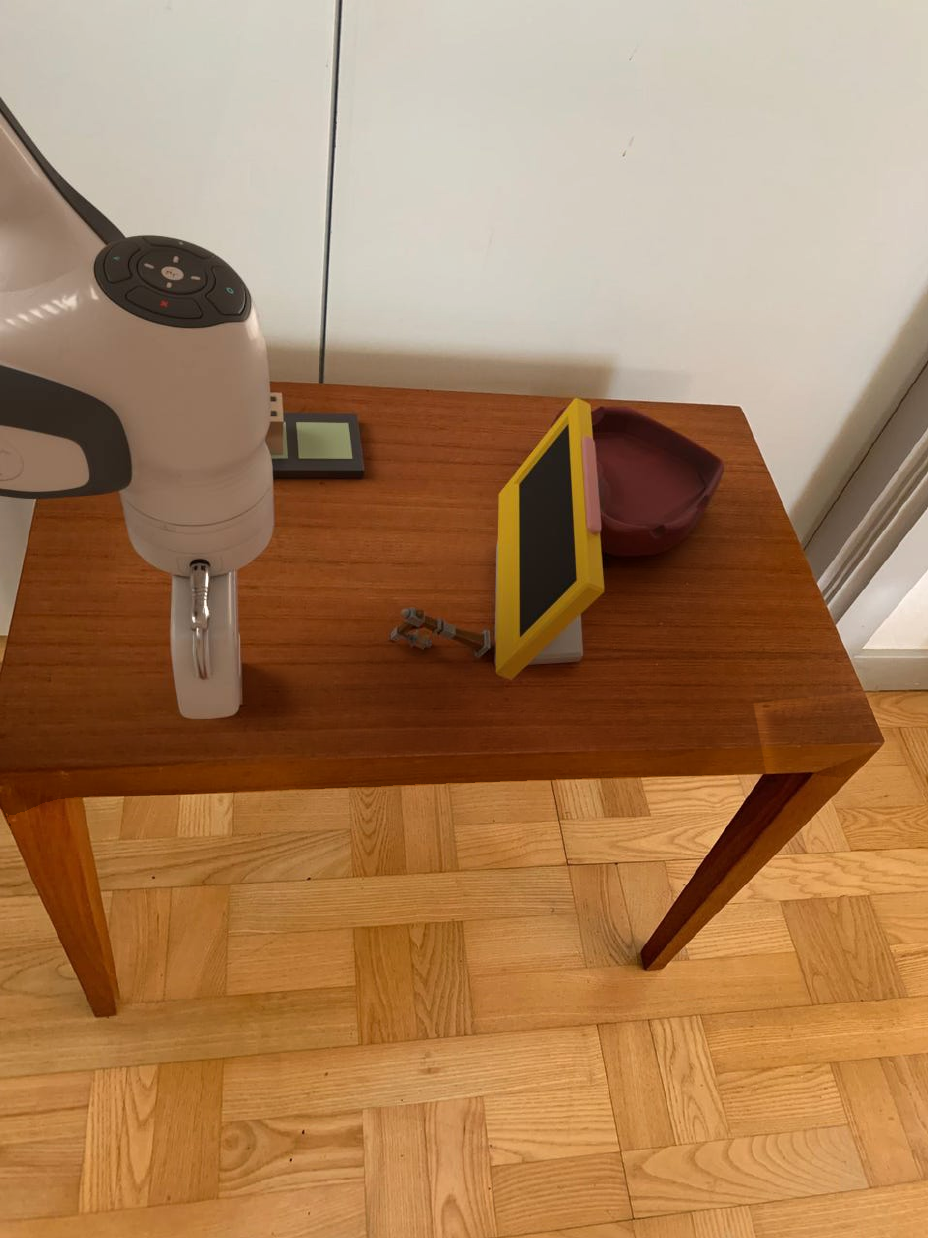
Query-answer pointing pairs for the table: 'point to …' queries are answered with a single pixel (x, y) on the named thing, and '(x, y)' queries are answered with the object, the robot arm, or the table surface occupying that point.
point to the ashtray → (648, 481)
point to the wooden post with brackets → (443, 629)
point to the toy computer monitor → (548, 548)
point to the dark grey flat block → (320, 447)
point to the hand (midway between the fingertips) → (215, 637)
